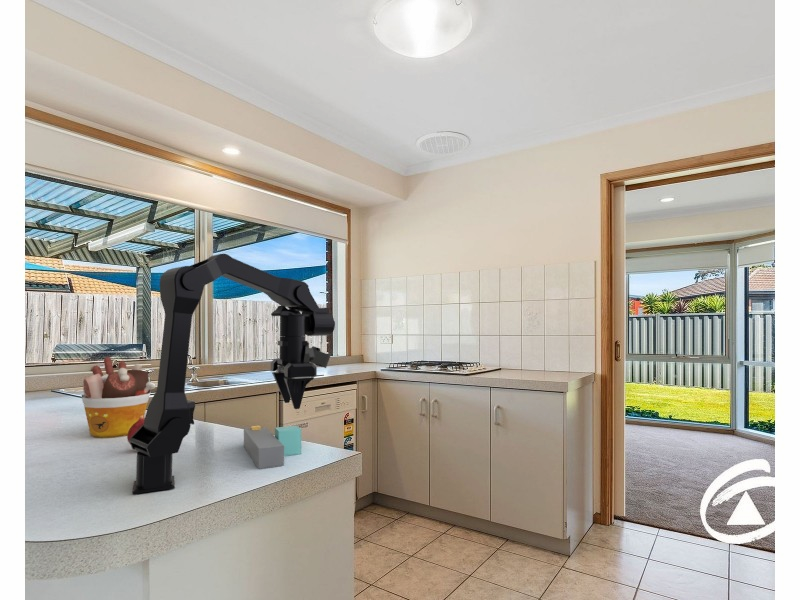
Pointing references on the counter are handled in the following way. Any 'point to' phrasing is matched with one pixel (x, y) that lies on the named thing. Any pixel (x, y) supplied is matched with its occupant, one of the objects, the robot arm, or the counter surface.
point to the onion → (135, 427)
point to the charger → (289, 439)
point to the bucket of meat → (115, 399)
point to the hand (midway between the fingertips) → (291, 405)
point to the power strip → (263, 447)
